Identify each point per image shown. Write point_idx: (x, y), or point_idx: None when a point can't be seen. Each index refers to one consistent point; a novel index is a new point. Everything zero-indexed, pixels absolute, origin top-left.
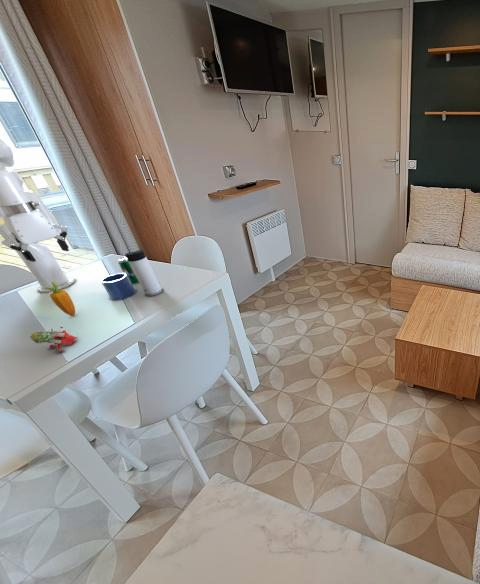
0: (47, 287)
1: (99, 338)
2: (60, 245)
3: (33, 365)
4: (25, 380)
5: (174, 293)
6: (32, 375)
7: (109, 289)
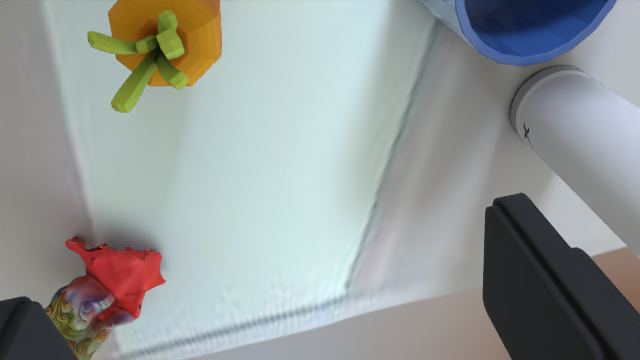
0: (115, 104)
1: (223, 301)
2: (532, 314)
3: None
4: None
5: (566, 197)
6: None
7: (440, 10)
